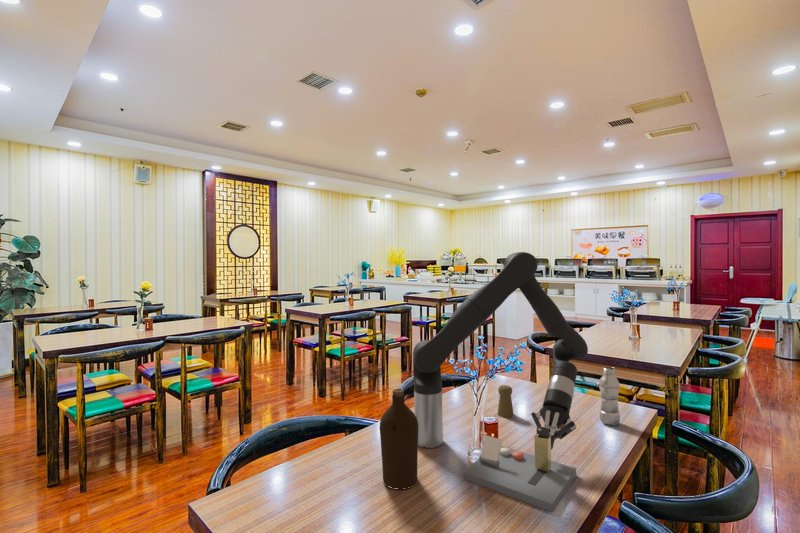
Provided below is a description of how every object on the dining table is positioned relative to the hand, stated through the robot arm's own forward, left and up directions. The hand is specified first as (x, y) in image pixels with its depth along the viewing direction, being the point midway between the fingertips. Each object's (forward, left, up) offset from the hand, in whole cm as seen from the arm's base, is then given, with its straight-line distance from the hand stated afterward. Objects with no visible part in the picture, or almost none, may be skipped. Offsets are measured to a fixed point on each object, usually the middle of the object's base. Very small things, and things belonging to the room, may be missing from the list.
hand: (546, 449), depth 113 cm
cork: (-10, +40, -7) cm, 42 cm away
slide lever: (-1, -3, -4) cm, 5 cm away
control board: (-7, -4, -6) cm, 11 cm away
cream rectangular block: (-16, -4, -4) cm, 17 cm away
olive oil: (-39, -12, -7) cm, 42 cm away
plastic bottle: (+26, +38, -7) cm, 46 cm away
